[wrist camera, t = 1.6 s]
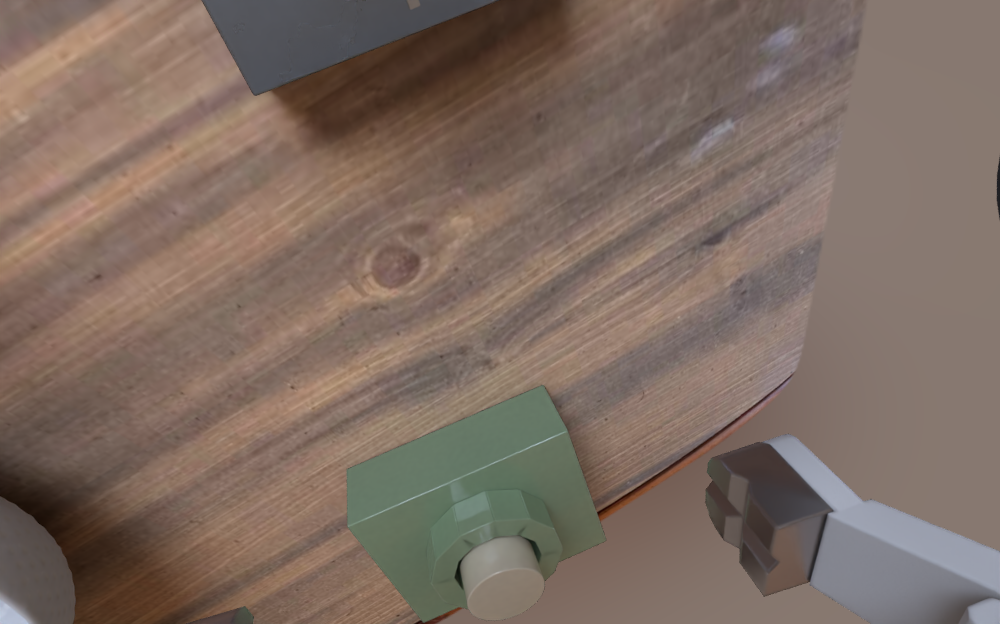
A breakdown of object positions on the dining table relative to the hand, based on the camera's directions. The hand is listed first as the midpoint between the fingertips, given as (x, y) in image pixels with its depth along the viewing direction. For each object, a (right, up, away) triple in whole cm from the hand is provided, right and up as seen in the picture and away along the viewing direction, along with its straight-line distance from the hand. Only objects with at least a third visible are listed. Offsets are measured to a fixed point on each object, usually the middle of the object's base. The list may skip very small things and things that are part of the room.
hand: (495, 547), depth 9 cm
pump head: (0, -9, +19) cm, 21 cm away
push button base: (-1, -6, +24) cm, 25 cm away
